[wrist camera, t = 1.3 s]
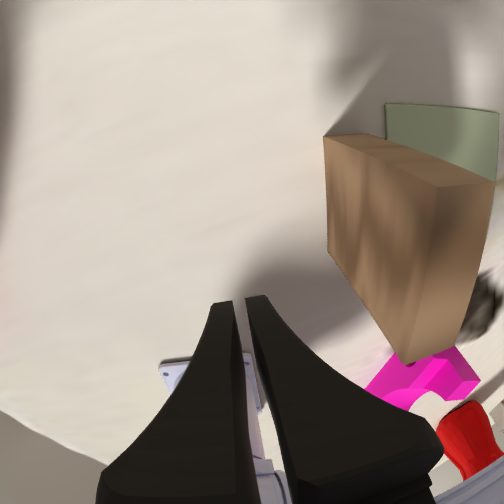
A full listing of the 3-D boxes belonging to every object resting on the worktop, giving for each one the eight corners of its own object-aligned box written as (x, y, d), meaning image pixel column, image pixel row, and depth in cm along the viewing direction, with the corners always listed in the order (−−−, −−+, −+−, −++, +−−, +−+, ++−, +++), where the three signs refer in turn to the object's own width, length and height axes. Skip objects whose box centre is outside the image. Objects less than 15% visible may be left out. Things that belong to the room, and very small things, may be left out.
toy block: (411, 327, 27) (449, 381, 21) (445, 334, 29) (480, 380, 22) (335, 418, 33) (353, 469, 26) (372, 418, 35) (392, 463, 28)
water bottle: (482, 386, 38) (546, 492, 16) (468, 416, 44) (518, 508, 21) (440, 412, 39) (500, 529, 17) (429, 438, 44) (476, 538, 22)
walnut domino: (365, 244, 22) (453, 346, 12) (327, 251, 22) (403, 365, 12) (366, 133, 18) (494, 182, 8) (322, 136, 18) (437, 187, 8)
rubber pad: (484, 241, 24) (485, 242, 23) (381, 264, 23) (382, 266, 23) (497, 113, 18) (499, 113, 18) (384, 103, 17) (386, 103, 17)
